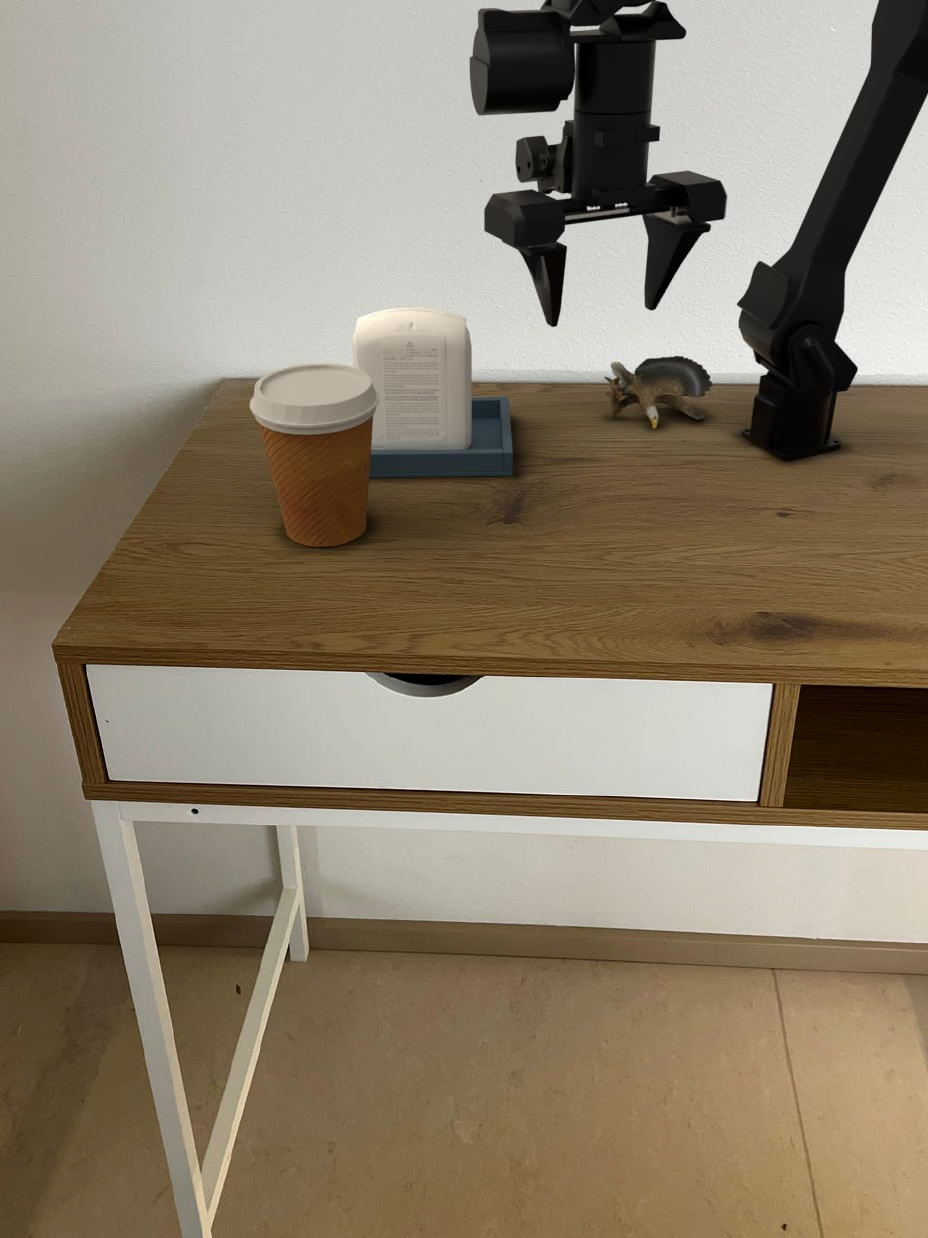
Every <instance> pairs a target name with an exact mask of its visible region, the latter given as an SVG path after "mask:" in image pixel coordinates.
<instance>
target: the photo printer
mask: <svg viewBox="0 0 928 1238" xmlns="http://www.w3.org/2000/svg"><path fill="white" fill-rule="evenodd" d="M351 343H352V344H351V345H352V361H353V367H354V368H357V369H360V370H362V371H364V372H365V373H367V374H368V375H369V376H370V378H371V381H372V384H373V387H374V389H375V390H376V391H377V392H378V394H379V402H378V405H377V407H376V411H375V413H374V415H373V430H372V445H371V450H372V451H379V450H460V449H468V448H469V447H470V445H471V428H472V397H473V396H472V395H473V394H472V392H473V390H472V389H473V388H472V386H473V383H472V381H473V377H472V376H473V369H472V368H473V367H472V366H473V364H472V362H473V361H472V359H473V355H472V354H473V350H472V349H473V348H472V341H471V334H470V331H469V329H468V327H467V318H466V317H464V316H461V315H458V314H456V313H453V312H451V311H445V310H441V309H436V308H429V307H413V306H410V307H409V306H408V307H407V306H406V307H393V308H388V309H383V310H378V311H375V312H374V311H373V312H371V313H368V314H364V315H362V316H360V317H358V318H357V321H356V325H355V330H354V333H353V336H352V342H351Z"/></svg>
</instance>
